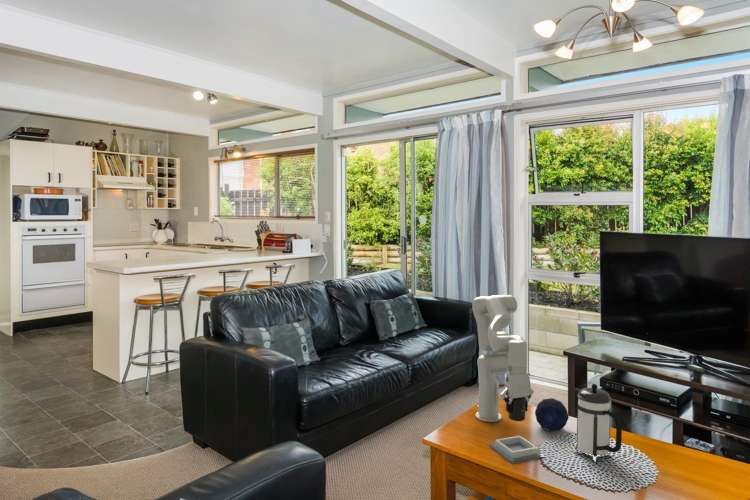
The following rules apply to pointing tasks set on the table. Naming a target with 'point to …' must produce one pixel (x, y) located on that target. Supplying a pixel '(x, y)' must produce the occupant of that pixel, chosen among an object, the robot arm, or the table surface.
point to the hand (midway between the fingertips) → (516, 410)
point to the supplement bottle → (517, 409)
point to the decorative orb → (551, 414)
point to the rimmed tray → (515, 449)
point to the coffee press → (596, 422)
